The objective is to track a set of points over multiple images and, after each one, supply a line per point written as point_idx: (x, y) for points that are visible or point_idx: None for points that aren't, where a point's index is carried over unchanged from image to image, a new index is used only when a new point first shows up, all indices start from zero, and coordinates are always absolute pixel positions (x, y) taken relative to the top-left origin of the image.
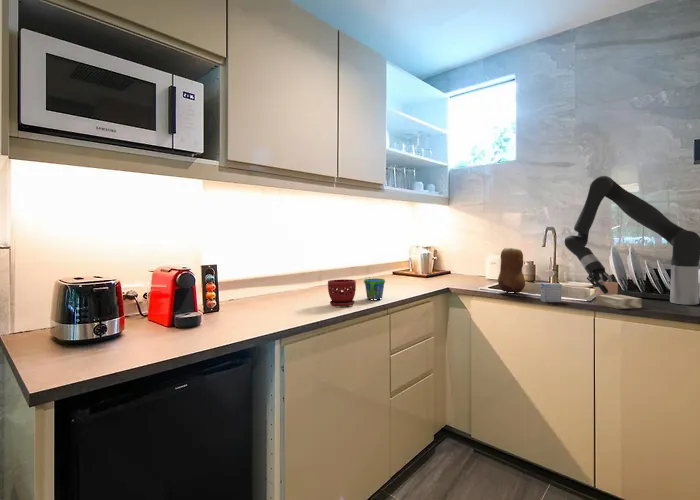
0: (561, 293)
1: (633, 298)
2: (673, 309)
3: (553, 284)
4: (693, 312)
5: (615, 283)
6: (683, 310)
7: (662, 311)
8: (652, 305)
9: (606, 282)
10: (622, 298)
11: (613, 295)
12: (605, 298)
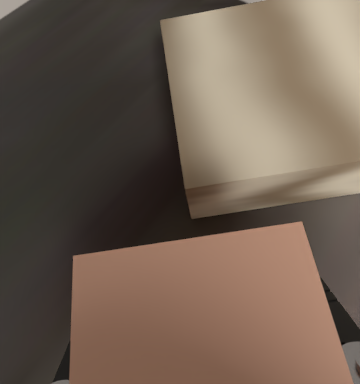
0: None
1: (217, 18)
2: (44, 46)
3: None
4: (28, 2)
5: (136, 250)
6: (24, 31)
7: (141, 8)
8: (42, 134)
9: (312, 289)
10: (301, 13)
11: (291, 129)
12: None
